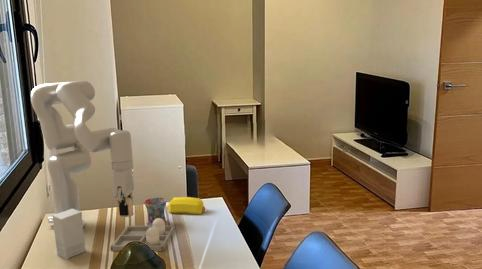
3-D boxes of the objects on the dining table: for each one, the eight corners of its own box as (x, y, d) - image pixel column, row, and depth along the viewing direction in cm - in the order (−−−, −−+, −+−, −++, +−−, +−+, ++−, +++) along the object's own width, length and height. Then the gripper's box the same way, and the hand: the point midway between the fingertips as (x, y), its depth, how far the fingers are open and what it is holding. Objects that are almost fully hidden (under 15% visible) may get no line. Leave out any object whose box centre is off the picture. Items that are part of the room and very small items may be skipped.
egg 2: (151, 237, 179) (150, 220, 178) (154, 232, 184) (153, 216, 183) (163, 237, 179) (162, 220, 178) (166, 232, 184) (165, 216, 182)
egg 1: (118, 217, 168) (116, 199, 167) (122, 212, 173) (121, 195, 172) (131, 217, 168) (129, 199, 167) (135, 212, 173) (133, 195, 171)
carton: (111, 252, 168) (110, 246, 168) (127, 230, 187) (127, 225, 187) (163, 252, 167) (163, 246, 167) (174, 230, 186) (174, 225, 186)
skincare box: (77, 247, 174) (72, 207, 171) (86, 251, 169) (82, 211, 166) (56, 255, 167) (51, 214, 164) (65, 260, 163) (61, 218, 160)
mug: (164, 230, 187) (162, 205, 185) (142, 229, 189) (140, 204, 187) (172, 219, 199) (171, 195, 197) (152, 218, 200) (150, 195, 198)
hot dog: (203, 216, 202) (208, 210, 209) (202, 201, 200) (207, 196, 208) (164, 214, 205) (170, 208, 212) (163, 200, 204) (169, 194, 211)
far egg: (145, 247, 170) (143, 230, 169) (148, 242, 175) (147, 225, 173) (157, 247, 170) (156, 230, 168) (161, 242, 174) (159, 225, 173)
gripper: (120, 159, 176) (124, 205, 179) (103, 171, 159) (108, 221, 162) (139, 158, 175) (143, 204, 178) (125, 170, 158) (129, 221, 162)
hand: (126, 212), depth 170 cm, fingers closed on egg 1, 4 cm apart
